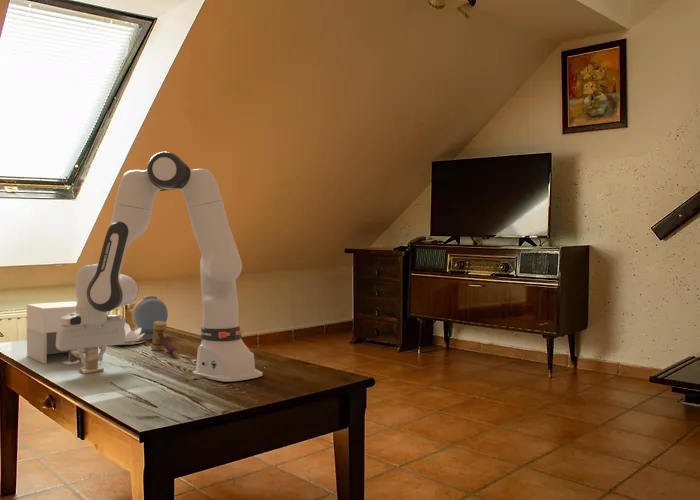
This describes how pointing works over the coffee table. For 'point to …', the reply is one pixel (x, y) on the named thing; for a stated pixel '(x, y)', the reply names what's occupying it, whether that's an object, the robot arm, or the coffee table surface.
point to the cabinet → (45, 328)
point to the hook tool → (92, 360)
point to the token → (71, 362)
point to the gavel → (161, 339)
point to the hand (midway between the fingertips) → (91, 361)
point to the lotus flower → (131, 335)
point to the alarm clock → (148, 315)
